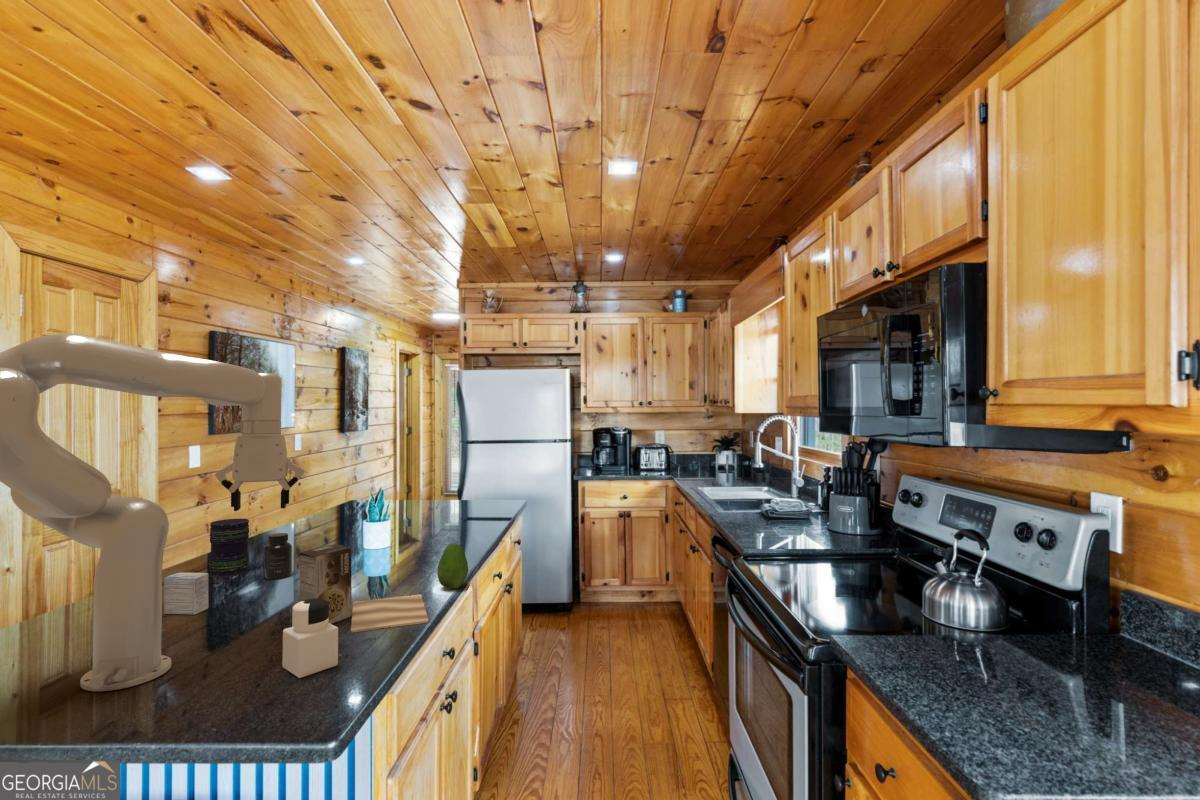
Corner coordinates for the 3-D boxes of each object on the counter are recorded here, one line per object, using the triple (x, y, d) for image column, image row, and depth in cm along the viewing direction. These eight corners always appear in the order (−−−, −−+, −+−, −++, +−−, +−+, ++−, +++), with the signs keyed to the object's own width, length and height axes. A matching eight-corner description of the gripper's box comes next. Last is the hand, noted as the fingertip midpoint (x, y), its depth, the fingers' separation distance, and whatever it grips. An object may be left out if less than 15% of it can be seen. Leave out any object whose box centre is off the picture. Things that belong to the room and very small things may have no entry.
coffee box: (335, 612, 136) (335, 543, 137) (352, 617, 133) (352, 546, 133) (297, 624, 128) (298, 551, 129) (315, 630, 125) (316, 555, 125)
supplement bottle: (265, 574, 168) (266, 533, 168) (292, 572, 170) (292, 531, 171) (263, 581, 161) (263, 537, 162) (291, 578, 164) (291, 535, 164)
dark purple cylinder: (215, 569, 173) (216, 519, 174) (252, 566, 176) (253, 517, 177) (203, 578, 164) (204, 525, 164) (243, 575, 167) (244, 523, 167)
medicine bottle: (320, 655, 112) (321, 593, 112) (338, 665, 108) (339, 600, 108) (281, 667, 107) (282, 602, 107) (298, 679, 102) (299, 610, 102)
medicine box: (209, 609, 139) (209, 572, 139) (194, 615, 134) (194, 577, 134) (178, 608, 139) (179, 571, 140) (163, 614, 135) (163, 577, 135)
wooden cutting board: (428, 622, 129) (428, 620, 129) (350, 632, 123) (350, 630, 123) (421, 596, 148) (421, 594, 148) (353, 603, 142) (353, 601, 142)
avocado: (460, 593, 150) (461, 546, 150) (432, 591, 151) (432, 545, 152) (472, 584, 158) (472, 540, 158) (445, 583, 159) (445, 539, 160)
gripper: (210, 430, 120) (209, 514, 120) (304, 429, 127) (303, 509, 126) (219, 429, 127) (217, 508, 127) (307, 428, 134) (306, 504, 133)
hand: (260, 508), depth 126 cm, fingers open, 8 cm apart
